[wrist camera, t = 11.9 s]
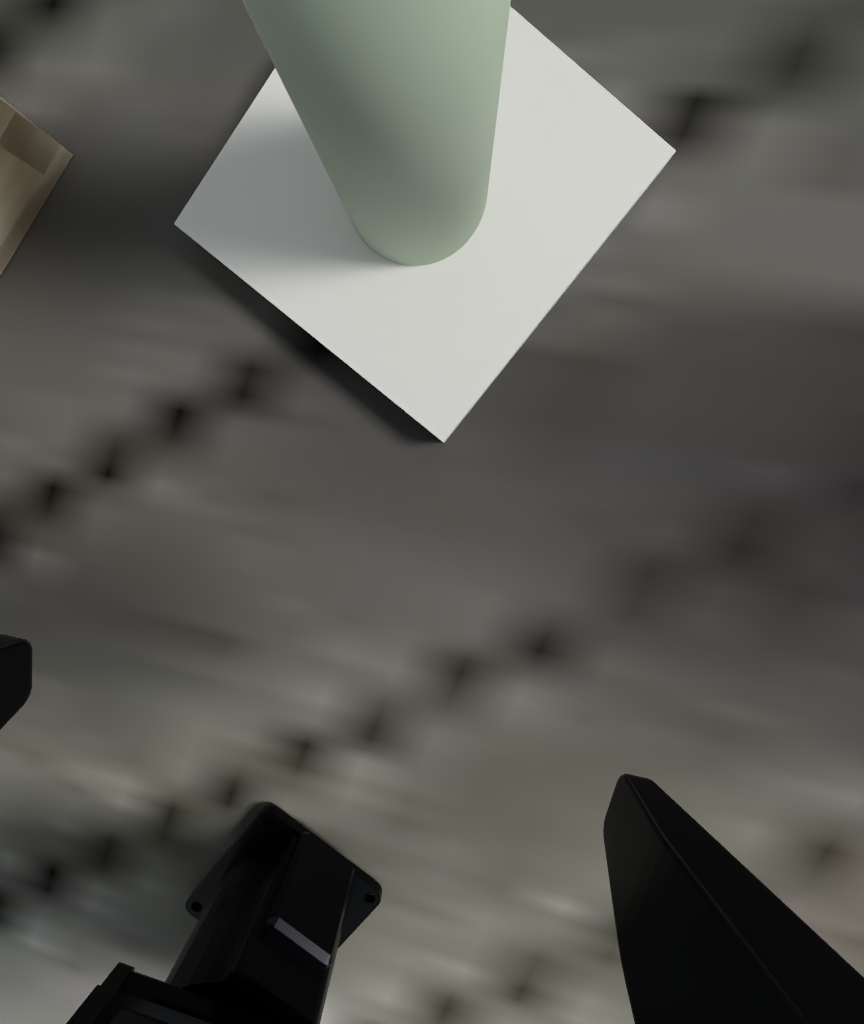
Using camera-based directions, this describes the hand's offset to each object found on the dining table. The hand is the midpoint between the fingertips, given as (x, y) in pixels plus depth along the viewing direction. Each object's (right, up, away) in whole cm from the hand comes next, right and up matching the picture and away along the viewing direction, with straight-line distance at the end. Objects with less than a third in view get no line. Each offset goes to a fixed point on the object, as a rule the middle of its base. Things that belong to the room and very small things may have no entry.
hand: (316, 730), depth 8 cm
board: (+1, +14, +11) cm, 18 cm away
